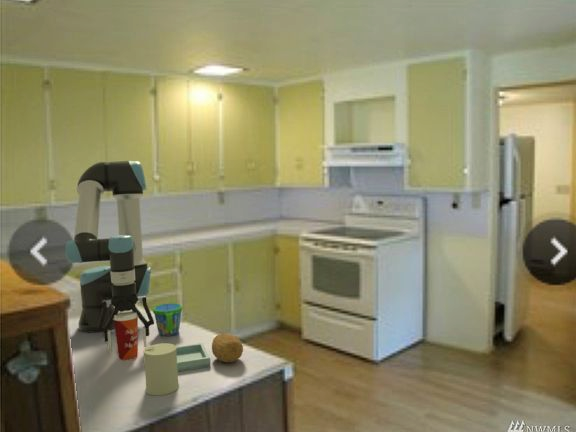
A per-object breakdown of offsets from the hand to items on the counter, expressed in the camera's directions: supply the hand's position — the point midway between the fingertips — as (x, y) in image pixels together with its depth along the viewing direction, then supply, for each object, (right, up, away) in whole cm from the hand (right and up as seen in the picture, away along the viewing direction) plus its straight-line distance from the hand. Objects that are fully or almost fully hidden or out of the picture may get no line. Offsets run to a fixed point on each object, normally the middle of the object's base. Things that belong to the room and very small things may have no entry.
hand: (127, 348), depth 169 cm
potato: (+34, -3, -5) cm, 34 cm away
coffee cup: (0, -3, 0) cm, 3 cm away
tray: (+20, -3, -5) cm, 21 cm away
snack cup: (+8, 0, +22) cm, 24 cm away
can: (+17, -5, -24) cm, 30 cm away
